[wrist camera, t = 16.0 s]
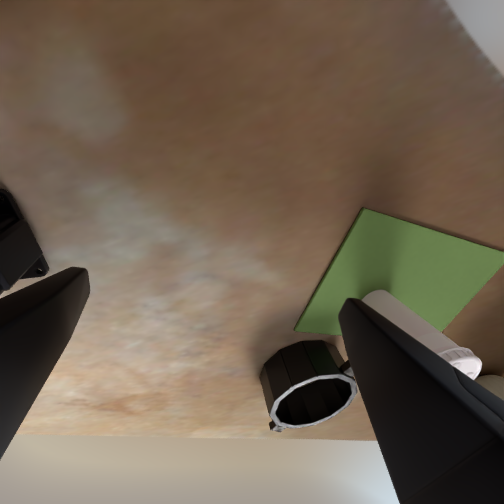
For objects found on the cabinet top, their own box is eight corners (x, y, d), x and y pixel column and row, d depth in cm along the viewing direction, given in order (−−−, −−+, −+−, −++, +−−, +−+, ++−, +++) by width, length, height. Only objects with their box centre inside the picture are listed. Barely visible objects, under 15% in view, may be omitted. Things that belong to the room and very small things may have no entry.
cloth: (293, 329, 29) (294, 331, 28) (362, 207, 22) (364, 208, 22) (428, 342, 36) (430, 344, 36) (509, 253, 30) (512, 255, 29)
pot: (237, 388, 32) (243, 426, 29) (310, 321, 29) (329, 355, 25) (292, 404, 37) (303, 438, 34) (360, 349, 34) (382, 381, 30)
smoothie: (377, 271, 26) (527, 412, 15) (411, 291, 29) (560, 423, 17) (336, 313, 28) (438, 466, 17) (371, 328, 31) (480, 468, 20)
